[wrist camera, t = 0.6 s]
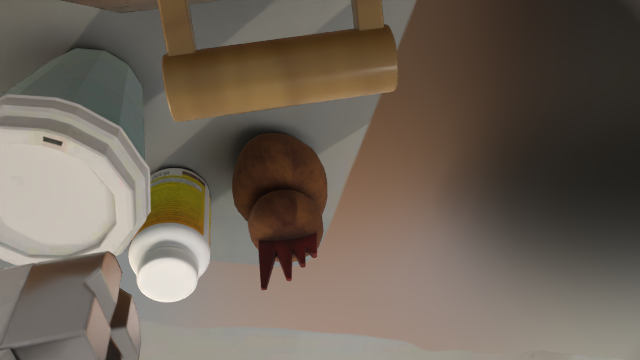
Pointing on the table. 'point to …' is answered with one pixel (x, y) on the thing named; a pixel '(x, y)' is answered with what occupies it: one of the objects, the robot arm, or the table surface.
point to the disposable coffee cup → (72, 160)
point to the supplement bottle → (173, 236)
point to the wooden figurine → (280, 200)
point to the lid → (268, 63)
